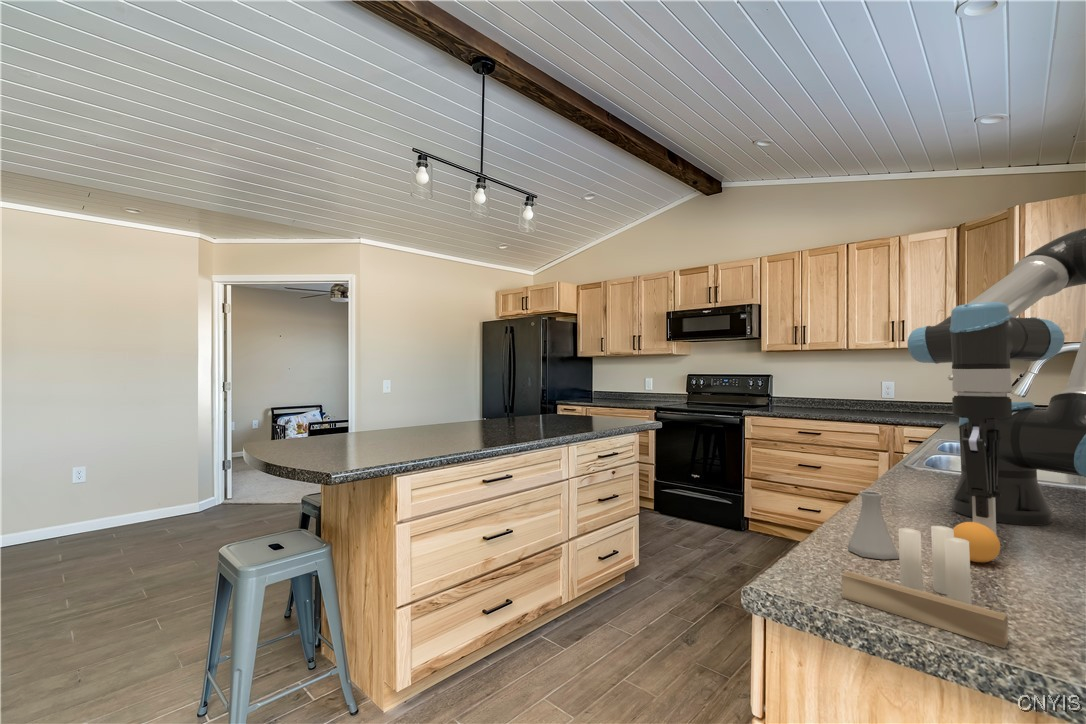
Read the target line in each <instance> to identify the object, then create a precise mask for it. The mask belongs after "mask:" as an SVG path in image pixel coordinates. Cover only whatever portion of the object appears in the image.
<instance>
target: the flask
mask: <svg viewBox="0 0 1086 724" xmlns="http://www.w3.org/2000/svg"><path fill="white" fill-rule="evenodd" d="M859 495H860V497H861V507H860V512H859V513H860V514H859V516H858V519H857V521H856V524H855V528H854V530H853V532H852V535H851V537H850V538H849V539H850V540H849V541H848V546H847V548H848V551H849V552H851V553H854V554H856V555H857V556H860V557H863V558H869V559H876V560H895V559H896V560H898V559H899V560H900V557H899V554H898V551H897V548H896V545H895V544H894V541H893V539H892V537H891V535H890V532H889V529H888V527H887V524H886V522H885V519H884V515H883V511H882V507H881V499H882V498H883V493H882V492H879V491H875V490H860V491H859Z"/></svg>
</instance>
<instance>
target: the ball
mask: <svg viewBox="0 0 1086 724" xmlns="http://www.w3.org/2000/svg"><path fill="white" fill-rule="evenodd" d="M952 529H953V530H954V537H956V538H961V539H965V540H967V541H969V552H970V562H973V563H974V562H975V563H988V562H991V561H994V559H995V558H997V557H998V555H999V554H1000V552H1001V542H1000V539H999V536H997V533H996V534H995V533H994V532H993V531H992V530H991V529H990V528H988V527H986V526H985V525H982V524H980V523H976V522H973V521H965V522H961V523H960V522H959V524H957V525H956V526H954V527H953V528H952Z"/></svg>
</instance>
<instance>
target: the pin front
mask: <svg viewBox="0 0 1086 724" xmlns="http://www.w3.org/2000/svg"><path fill="white" fill-rule="evenodd" d="M930 532H931V533H930V534H931V557H932V559H931V561H932V563H931V564H932V566H931V567H932V589H933V591H934V592H935V593H938V594H941V595H945V596H947V592H946V565H945V537H954V530H953V528H951V527H948V526H944V525H931V526H930Z"/></svg>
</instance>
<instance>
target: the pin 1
mask: <svg viewBox="0 0 1086 724" xmlns="http://www.w3.org/2000/svg"><path fill="white" fill-rule="evenodd" d="M921 535H922V533H921V531H920V530H918V529H914V528H908V527H899V528H898V550H899V554H898V556H899V581H900V582H899V583H900V584H899V585H901V586H905V587H908V588H912V589H916V590H919V591H923V590H924V589H923V584H924V583H923V562H922V559H923V558H922V557H923V555H922V536H921ZM923 592H924V591H923Z"/></svg>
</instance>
